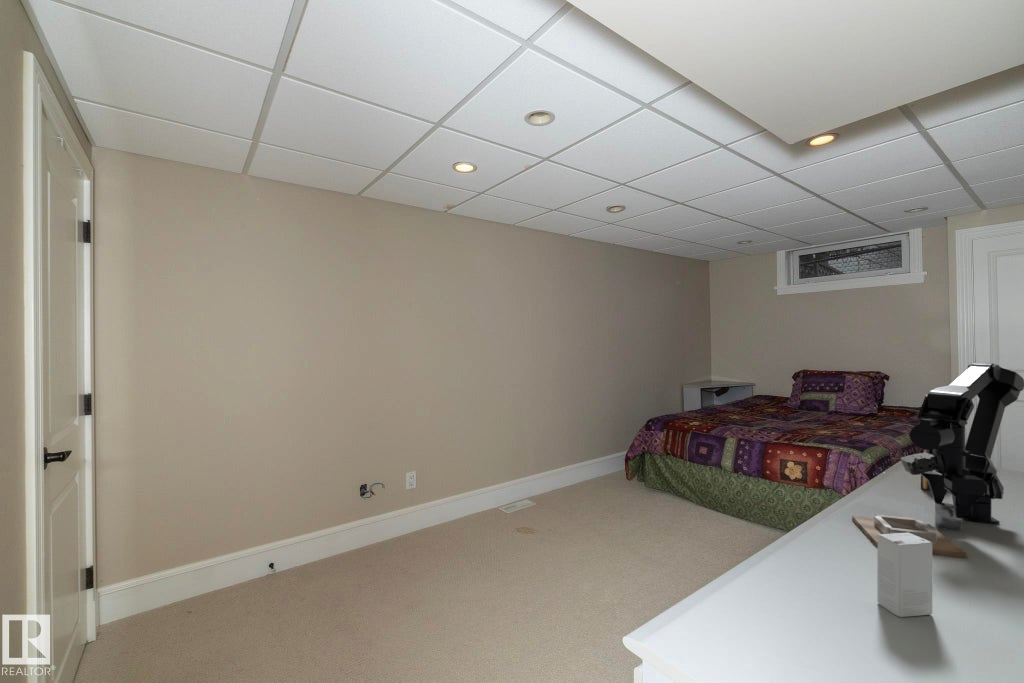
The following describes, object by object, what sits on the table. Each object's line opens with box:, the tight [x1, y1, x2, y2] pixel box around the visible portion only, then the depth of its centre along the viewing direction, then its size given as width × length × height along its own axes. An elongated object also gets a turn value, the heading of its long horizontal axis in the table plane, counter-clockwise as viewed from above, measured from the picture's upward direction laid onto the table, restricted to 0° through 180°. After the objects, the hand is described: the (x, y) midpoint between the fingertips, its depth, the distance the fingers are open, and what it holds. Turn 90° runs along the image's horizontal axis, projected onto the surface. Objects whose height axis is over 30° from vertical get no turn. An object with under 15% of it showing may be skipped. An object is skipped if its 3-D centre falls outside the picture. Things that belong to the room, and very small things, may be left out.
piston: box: [934, 502, 963, 532], centre depth 106 cm, size 4×4×5 cm
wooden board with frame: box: [851, 513, 968, 559], centre depth 101 cm, size 15×15×3 cm
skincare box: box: [876, 533, 933, 618], centre depth 75 cm, size 6×4×12 cm
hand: (948, 510), depth 106 cm, fingers open, 9 cm apart
